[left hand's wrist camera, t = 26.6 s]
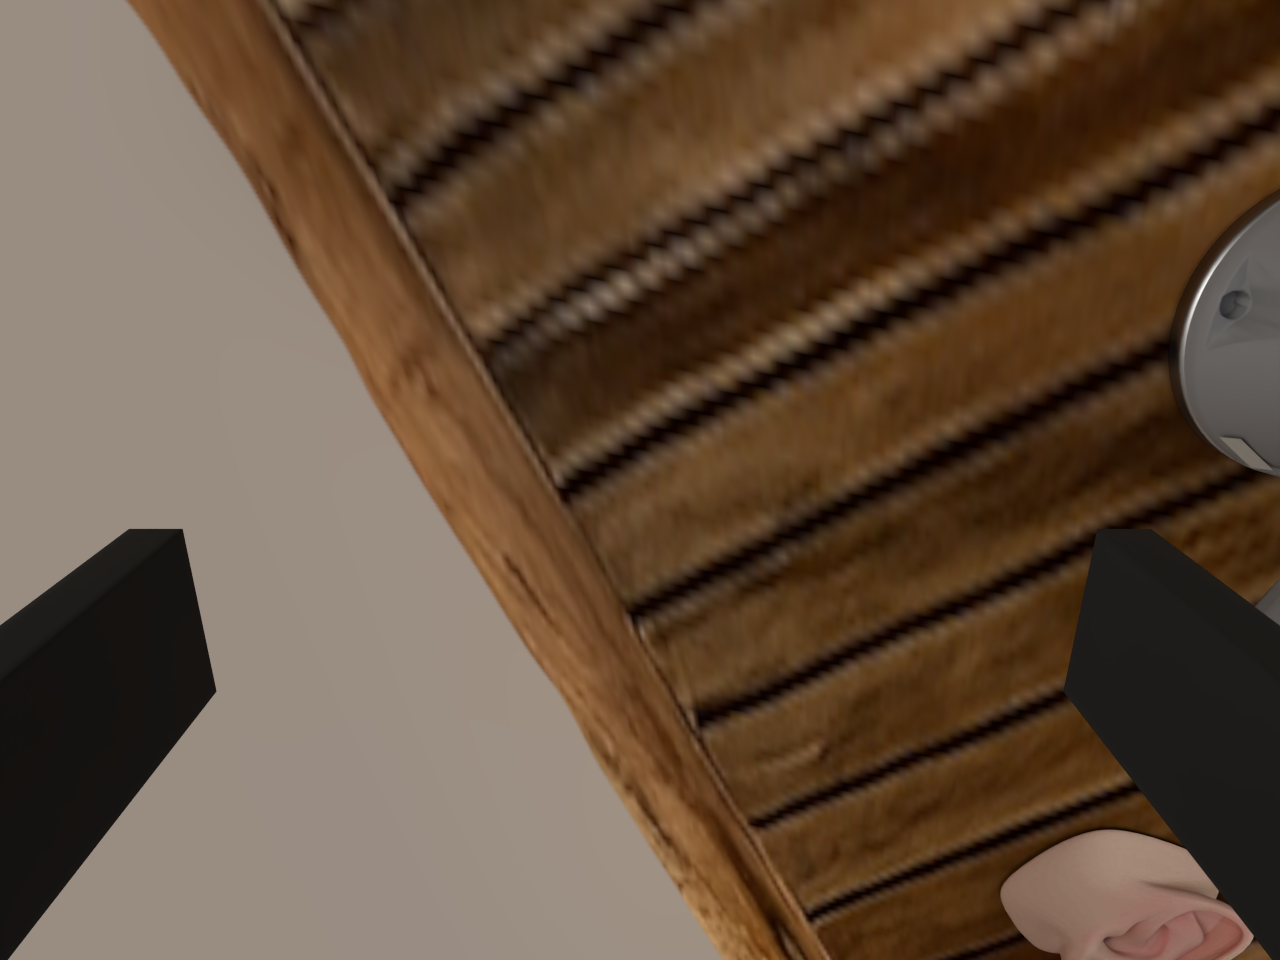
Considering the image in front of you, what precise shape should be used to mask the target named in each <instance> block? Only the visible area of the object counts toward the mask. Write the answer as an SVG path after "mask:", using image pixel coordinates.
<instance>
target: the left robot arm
mask: <svg viewBox="0 0 1280 960" xmlns="http://www.w3.org/2000/svg"><path fill="white" fill-rule="evenodd" d="M1169 374H1170V381H1171V386H1172V390H1173V394H1174V397H1175V399H1176V402H1177V405H1178V407H1179V409H1180V411H1181V413H1182V415H1183V417H1184V418H1185V420H1186V421H1187V423H1188V424H1189V426H1190V427H1191V428H1192V429H1193V431H1194V432H1195V433H1196V434H1197V435H1198V436H1199V437H1200V438H1201V439H1202V440H1203V441H1204V442H1205V443H1206V444H1208V445H1209V446H1211V447H1212V448H1213V449H1215V450H1216V451H1218V452H1220V453H1221V454H1223V455H1225V456H1227V457H1229V458H1231V459H1233V460H1234V461H1236V462H1238V463H1240V464H1242V465H1244V466H1247V467H1249V468H1252V469H1254V470H1257V471H1261V472H1264V473H1267V474H1270V475H1274V476H1278V477H1280V189H1279V190H1278V191H1276V192H1274V193H1273V194H1271V195H1269V196H1268V197H1266V198H1265V199H1263V200H1262V201H1260V202H1259V203H1257V204H1256V205H1255V206H1253V207H1252V208H1251V209H1249V210H1248V211H1247V212H1246V213H1244V214H1243V215H1242V216H1241V217H1240V218H1239V219H1237V220H1236V221H1235V222H1234V223H1233V224H1232V225H1231V226H1230V227H1229V228H1228V229H1227V230H1226V231H1225V232H1224V233H1223V234H1222V235H1221V236H1220V237H1219V239H1218V240H1217V241H1216V242H1215V243H1214V244H1213V246H1212V247H1211V248H1210V249H1209V251H1208V252H1207V253H1206V255H1205V256H1204V258H1203V259H1202V260H1201V262H1200V263H1199V265H1198V266H1197V268H1196V270H1195V271H1194V273H1193V275H1192V276H1191V278H1190V280H1189V282H1188V284H1187V286H1186V288H1185V290H1184V292H1183V295H1182V297H1181V300H1180V302H1179V304H1178V307H1177V310H1176V314H1175V317H1174V320H1173V325H1172V330H1171V334H1170V342H1169ZM215 693H216V687H215V682H214V677H213V673H212V668H211V663H210V658H209V654H208V649H207V644H206V639H205V634H204V630H203V625H202V620H201V615H200V610H199V606H198V601H197V596H196V591H195V587H194V582H193V577H192V572H191V567H190V563H189V558H188V553H187V548H186V543H185V538H184V534H183V529H129V530H127V531H126V532H125V533H123V534H122V535H120V536H119V537H118V538H116V539H115V540H114V541H112V542H111V543H110V544H108V545H107V546H106V547H104V548H103V549H102V550H100V551H99V552H98V553H96V554H95V555H94V556H92V557H91V558H90V559H88V560H87V561H86V562H84V563H83V564H82V565H80V566H79V567H78V568H76V569H75V570H74V571H72V572H71V573H70V574H68V575H67V576H66V577H64V578H63V579H62V580H60V581H59V582H58V583H56V584H55V585H54V586H52V587H51V588H50V589H48V590H47V591H46V592H44V593H43V594H42V595H40V596H39V597H38V598H36V599H35V600H34V601H32V602H31V603H30V604H28V605H27V606H26V607H24V608H23V609H22V610H20V611H19V612H18V613H16V614H15V615H14V616H12V617H11V618H10V619H8V620H7V621H6V622H4V623H3V624H2V625H0V960H8V959H9V957H10V956H11V955H12V954H13V952H14V951H15V950H16V948H17V947H18V946H19V945H20V943H21V942H22V941H23V939H24V938H25V937H26V936H27V934H28V933H29V932H30V930H31V929H32V928H33V927H34V925H35V924H36V923H37V921H38V920H39V919H40V918H41V916H42V915H43V914H44V912H45V911H46V910H47V909H48V907H49V906H50V905H51V903H52V902H53V901H54V900H55V898H56V897H57V896H58V894H59V893H60V892H61V891H62V889H63V888H64V887H65V885H66V884H67V883H68V882H69V880H70V879H71V878H72V876H73V875H74V874H75V873H76V871H77V870H78V869H79V867H80V866H81V865H82V864H83V862H84V861H85V860H86V858H87V857H88V856H89V855H90V853H91V852H92V851H93V849H94V848H95V847H96V846H97V844H98V843H99V842H100V840H101V839H102V838H103V837H104V835H105V834H106V833H107V831H108V830H109V829H110V828H111V826H112V825H113V824H114V822H115V821H116V820H117V819H118V817H119V816H120V815H121V813H122V812H123V811H124V810H125V808H126V807H127V806H128V804H129V803H130V802H131V801H132V799H133V798H134V797H135V795H136V794H137V793H138V792H139V790H140V789H141V788H142V786H143V785H144V784H145V783H146V781H147V780H148V779H149V777H150V776H151V775H152V774H153V772H154V771H155V770H156V768H157V767H158V766H159V765H160V763H161V762H162V761H163V759H164V758H165V757H166V756H167V754H168V753H169V752H170V750H171V749H172V748H173V747H174V745H175V744H176V743H177V741H178V740H179V739H180V738H181V736H182V735H183V734H184V732H185V731H186V730H187V729H188V727H189V726H190V725H191V723H192V722H193V721H194V720H195V718H196V717H197V716H198V714H199V713H200V712H201V711H202V709H203V708H204V707H205V705H206V704H207V703H208V702H209V700H210V699H211V698H212V696H213V695H214V694H215ZM1064 693H1065V694H1066V695H1067V696H1068V698H1069V699H1070V700H1071V702H1072V703H1073V704H1074V705H1075V707H1076V708H1077V709H1078V711H1079V712H1080V713H1081V714H1082V716H1083V717H1084V718H1085V720H1086V721H1087V722H1088V723H1089V725H1090V726H1091V727H1092V729H1093V730H1094V731H1095V732H1096V734H1097V735H1098V736H1099V738H1100V739H1101V740H1102V741H1103V743H1104V744H1105V745H1106V747H1107V748H1108V749H1109V750H1110V752H1111V753H1112V754H1113V756H1114V757H1115V758H1116V759H1117V761H1118V762H1119V763H1120V765H1121V766H1122V767H1123V768H1124V770H1125V771H1126V772H1127V774H1128V775H1129V776H1130V777H1131V779H1132V780H1133V781H1134V783H1135V784H1136V785H1137V786H1138V788H1139V789H1140V790H1141V792H1142V793H1143V794H1144V795H1145V797H1146V798H1147V799H1148V801H1149V802H1150V803H1151V804H1152V806H1153V807H1154V808H1155V810H1156V811H1157V812H1158V813H1159V815H1160V816H1161V817H1162V819H1163V820H1164V821H1165V822H1166V824H1167V825H1168V826H1169V828H1170V829H1171V830H1172V831H1173V833H1174V834H1175V835H1176V837H1177V838H1178V839H1179V840H1180V842H1181V843H1182V844H1183V846H1184V847H1185V848H1186V849H1187V851H1188V852H1189V853H1190V855H1191V856H1192V857H1193V858H1194V860H1195V861H1196V862H1197V864H1198V865H1199V866H1200V867H1201V869H1202V870H1203V871H1204V873H1205V874H1206V875H1207V876H1208V878H1209V879H1210V880H1211V882H1212V883H1213V884H1214V885H1215V887H1216V888H1217V889H1218V891H1219V892H1220V893H1221V894H1222V896H1223V897H1224V898H1225V900H1226V901H1227V902H1228V903H1229V905H1230V906H1231V907H1232V909H1233V910H1234V911H1235V912H1236V914H1237V915H1238V916H1239V918H1240V919H1241V920H1242V921H1243V923H1244V924H1245V925H1246V927H1247V928H1248V929H1249V930H1250V932H1251V933H1252V934H1253V936H1254V937H1255V938H1256V939H1257V941H1258V942H1259V943H1260V945H1261V946H1262V947H1263V948H1264V950H1265V951H1266V952H1267V954H1268V955H1269V956H1270V957H1271V959H1272V960H1280V578H1279V579H1278V581H1277V582H1276V583H1275V584H1274V585H1273V586H1272V587H1271V589H1270V590H1269V591H1268V592H1267V593H1266V594H1265V595H1264V597H1263V598H1262V599H1261V600H1260V601H1259V602H1258V603H1257V605H1256V606H1255V607H1254V606H1253V605H1252V604H1250V603H1249V602H1248V601H1246V600H1245V599H1244V598H1242V597H1241V596H1240V595H1238V594H1237V593H1236V592H1234V591H1233V590H1232V589H1230V588H1229V587H1228V586H1226V585H1225V584H1224V583H1222V582H1221V581H1220V580H1218V579H1217V578H1216V577H1214V576H1213V575H1212V574H1210V573H1209V572H1208V571H1206V570H1205V569H1204V568H1202V567H1201V566H1200V565H1198V564H1197V563H1196V562H1194V561H1193V560H1192V559H1190V558H1189V557H1188V556H1186V555H1185V554H1184V553H1182V552H1181V551H1180V550H1178V549H1177V548H1176V547H1174V546H1173V545H1172V544H1170V543H1169V542H1168V541H1166V540H1165V539H1164V538H1162V537H1161V536H1160V535H1158V534H1157V533H1156V532H1154V531H1153V530H1152V529H1097V534H1096V538H1095V543H1094V548H1093V553H1092V558H1091V562H1090V567H1089V572H1088V577H1087V582H1086V586H1085V591H1084V596H1083V601H1082V606H1081V610H1080V615H1079V620H1078V625H1077V629H1076V634H1075V639H1074V644H1073V649H1072V653H1071V658H1070V663H1069V668H1068V673H1067V677H1066V682H1065V687H1064Z"/></svg>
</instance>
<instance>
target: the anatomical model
mask: <svg viewBox="0 0 1280 960" xmlns="http://www.w3.org/2000/svg"><path fill="white" fill-rule="evenodd" d="M1218 892H1219V891H1218V889H1217V888H1216V887H1215V885H1214V884H1213V883H1212V882H1211V880H1210V879H1209V878H1208V876H1207V875H1206V874H1205V873H1204V871H1203V870H1202V869H1201V867H1200V866H1199V865H1198V864H1197V862H1196V861H1195V860H1194V858H1193V857H1192V856H1191V855H1190V853H1189V852H1188V851H1187V850H1186V849H1184V848H1182V847H1179V846H1176V845H1174V844H1171V843H1168V842H1165V841H1162V840H1159V839H1156V838H1153V837H1149V836H1146V835H1142V834H1138V833H1133V832H1128V831H1121V830H1097V831H1091V832H1087V833H1083V834H1080V835H1077V836H1074V837H1072V838H1070V839H1067V840H1065V841H1063V842H1061V843H1059V844H1057V845H1055V846H1053V847H1051V848H1049V849H1048V850H1046V851H1044V852H1043V853H1041V854H1039V855H1038V856H1036V857H1035V858H1033V859H1032V860H1030V861H1029V862H1027V863H1026V864H1024V865H1023V866H1022V867H1021V868H1019V869H1018V870H1017V871H1016V872H1014V873H1013V874H1012V875H1011V876H1010V877H1009V878H1008V879H1007V880H1006V881H1005V883H1004V884H1003V886H1002V889H1001V893H1000V895H1001V900H1002V903H1003V905H1004V908H1005V910H1006V911H1007V913H1008V915H1009V916H1010V918H1011V919H1012V921H1013V923H1014V924H1015V926H1016V927H1017V928H1018V930H1019V931H1020V932H1021V933H1022V934H1023V935H1024V936H1025V937H1026V938H1027V939H1028V940H1029V941H1030V942H1031V943H1032V944H1033V945H1034V946H1036V947H1037V948H1039V949H1041V950H1044V951H1047V952H1051V953H1060V955H1061V959H1062V960H1231V959H1233V958H1234V957H1236V956H1237V955H1238V954H1240V953H1241V952H1242V951H1243V950H1244V949H1245V948H1246V947H1247V946H1248V945H1249V944H1250V943H1251V941H1252V939H1253V934H1252V933H1251V932H1250V930H1249V929H1248V928H1247V927H1246V925H1245V924H1244V923H1243V921H1242V920H1241V919H1240V918H1239V916H1238V915H1237V914H1236V912H1235V911H1234V910H1233V909H1232V907H1231V906H1230V905H1228V904H1226V903H1224V902H1222V901H1219V900H1216V897H1217V895H1218Z"/></svg>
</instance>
